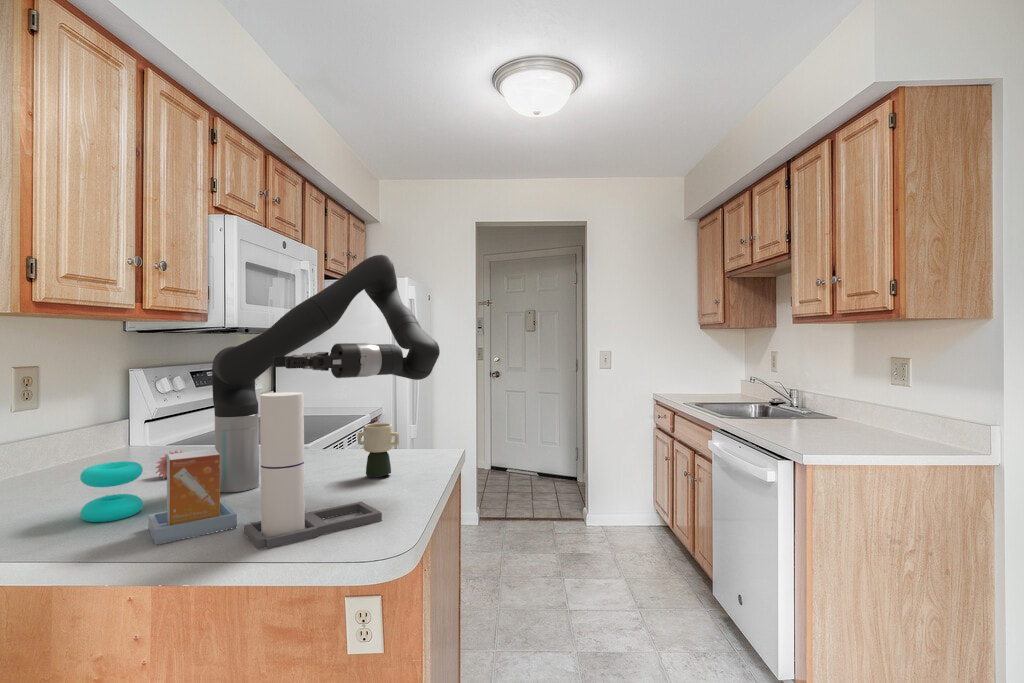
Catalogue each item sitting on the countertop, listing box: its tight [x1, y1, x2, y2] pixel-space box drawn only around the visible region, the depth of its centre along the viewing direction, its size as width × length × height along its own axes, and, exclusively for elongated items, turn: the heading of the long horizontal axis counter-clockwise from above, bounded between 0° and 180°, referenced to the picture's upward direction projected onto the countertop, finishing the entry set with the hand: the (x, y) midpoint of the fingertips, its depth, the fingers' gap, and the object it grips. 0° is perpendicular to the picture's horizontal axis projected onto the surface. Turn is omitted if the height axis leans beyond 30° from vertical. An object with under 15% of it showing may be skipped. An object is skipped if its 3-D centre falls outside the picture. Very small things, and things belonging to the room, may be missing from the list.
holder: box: [243, 501, 383, 550], centre depth 100 cm, size 11×22×2 cm, turn 129°
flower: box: [155, 449, 183, 480], centre depth 139 cm, size 8×8×6 cm
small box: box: [166, 448, 221, 526], centre depth 100 cm, size 8×6×13 cm
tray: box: [147, 500, 238, 546], centre depth 100 cm, size 11×13×3 cm
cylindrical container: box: [259, 391, 306, 538], centre depth 97 cm, size 7×7×25 cm
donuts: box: [79, 461, 144, 523], centre depth 108 cm, size 10×10×10 cm
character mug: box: [357, 422, 400, 478], centre depth 137 cm, size 11×7×13 cm, turn 82°
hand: (279, 362), depth 110 cm, fingers open, 8 cm apart
